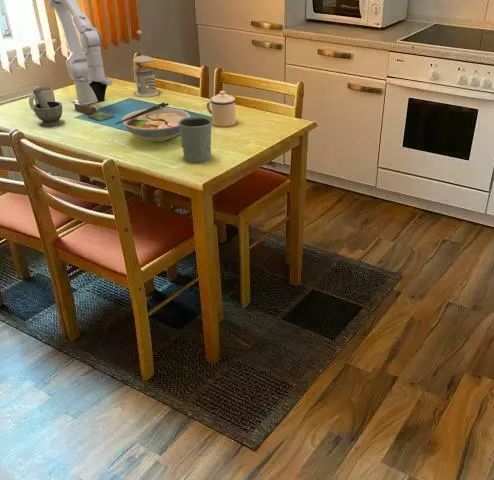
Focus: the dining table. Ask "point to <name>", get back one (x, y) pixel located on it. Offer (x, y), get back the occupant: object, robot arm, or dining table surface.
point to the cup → (47, 94)
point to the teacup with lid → (222, 110)
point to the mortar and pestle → (47, 110)
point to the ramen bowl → (155, 123)
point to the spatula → (91, 111)
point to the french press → (144, 76)
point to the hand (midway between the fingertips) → (101, 101)
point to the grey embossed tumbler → (196, 139)
